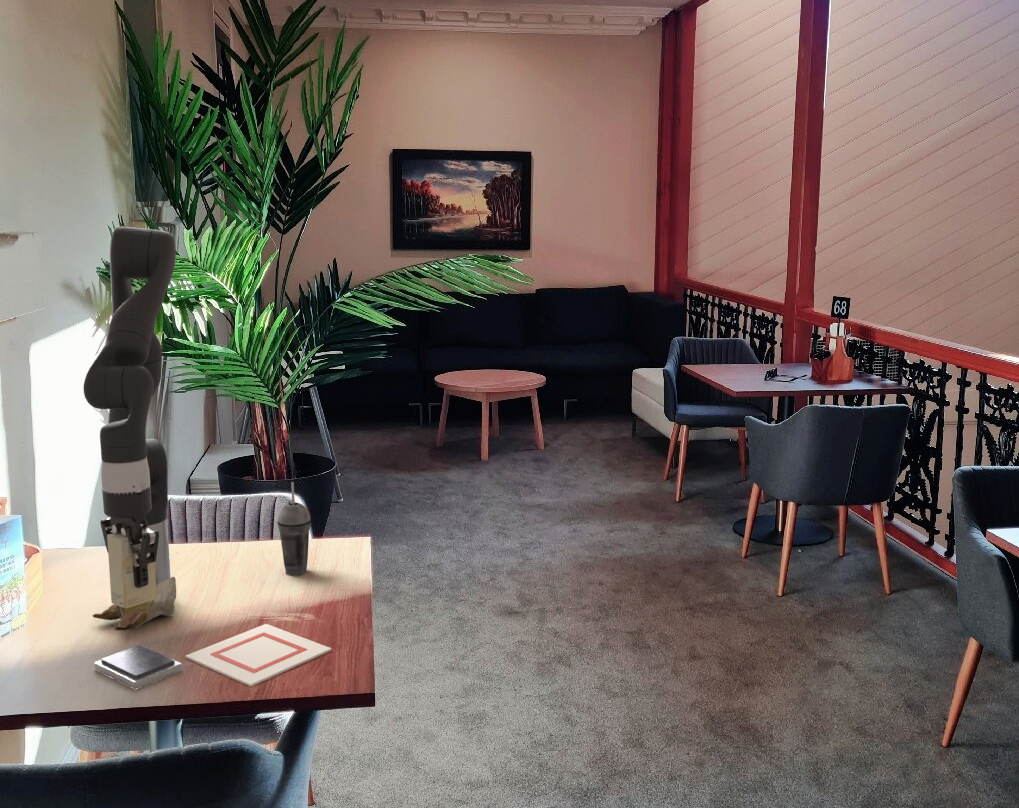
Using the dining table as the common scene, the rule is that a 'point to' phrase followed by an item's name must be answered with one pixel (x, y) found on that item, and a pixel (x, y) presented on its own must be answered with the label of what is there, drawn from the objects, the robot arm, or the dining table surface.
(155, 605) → the ceramic sculpture
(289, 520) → the beverage cup
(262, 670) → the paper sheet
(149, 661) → the ink pad
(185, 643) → the dining table surface
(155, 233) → the robot arm
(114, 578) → the skincare box
